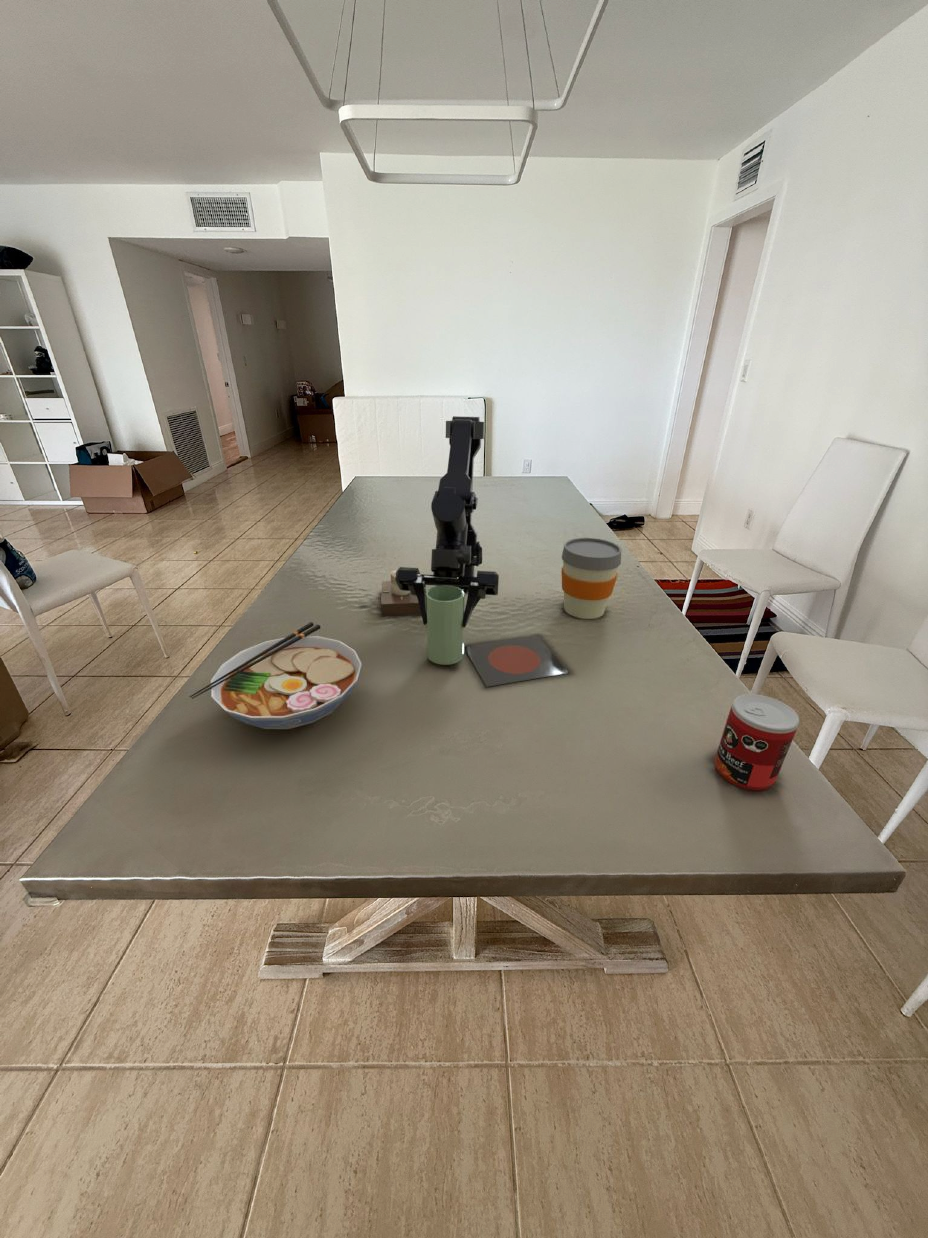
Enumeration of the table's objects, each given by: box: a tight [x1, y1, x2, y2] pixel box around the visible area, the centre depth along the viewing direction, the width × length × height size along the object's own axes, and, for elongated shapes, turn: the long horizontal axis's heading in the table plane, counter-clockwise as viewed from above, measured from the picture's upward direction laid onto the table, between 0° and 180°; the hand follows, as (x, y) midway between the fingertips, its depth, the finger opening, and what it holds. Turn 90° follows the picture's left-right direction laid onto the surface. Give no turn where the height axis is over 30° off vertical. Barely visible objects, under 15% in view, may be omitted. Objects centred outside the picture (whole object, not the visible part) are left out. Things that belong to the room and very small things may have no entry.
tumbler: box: [425, 585, 466, 666], centre depth 95 cm, size 7×7×13 cm
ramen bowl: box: [189, 621, 363, 730], centre depth 84 cm, size 25×23×8 cm
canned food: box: [714, 693, 800, 791], centre depth 72 cm, size 8×8×11 cm
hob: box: [464, 635, 570, 688], centre depth 99 cm, size 14×16×1 cm
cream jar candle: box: [390, 569, 410, 595], centre depth 117 cm, size 4×4×5 cm
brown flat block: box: [380, 580, 421, 617], centre depth 119 cm, size 12×9×3 cm
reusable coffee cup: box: [560, 537, 622, 620], centre depth 115 cm, size 13×13×15 cm
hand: (444, 625), depth 94 cm, fingers closed on tumbler, 7 cm apart
